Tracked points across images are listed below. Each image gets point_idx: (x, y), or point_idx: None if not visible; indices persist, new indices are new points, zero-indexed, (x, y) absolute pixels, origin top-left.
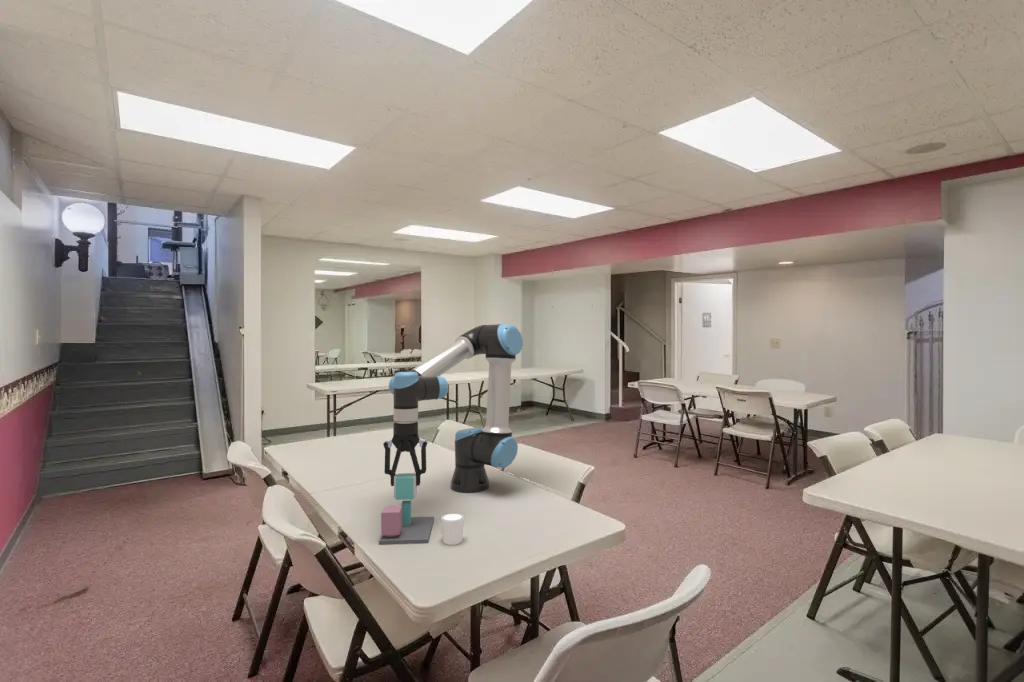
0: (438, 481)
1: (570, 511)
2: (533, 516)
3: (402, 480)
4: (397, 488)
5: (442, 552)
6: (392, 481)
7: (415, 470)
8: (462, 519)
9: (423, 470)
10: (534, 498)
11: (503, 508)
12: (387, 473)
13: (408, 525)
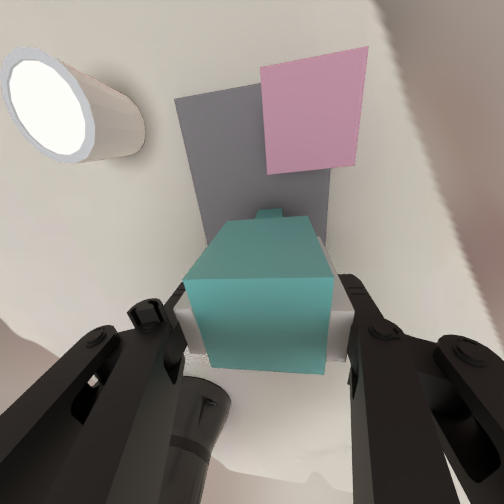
0: (259, 421)
1: None
2: (26, 271)
3: (270, 265)
4: (304, 238)
5: (107, 16)
6: (353, 292)
7: (150, 350)
8: (3, 90)
9: (87, 346)
10: (71, 344)
11: (99, 310)
12: (444, 339)
13: (262, 210)
